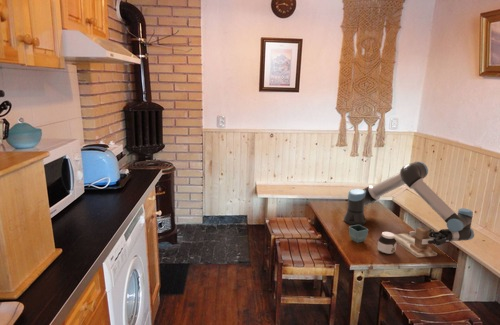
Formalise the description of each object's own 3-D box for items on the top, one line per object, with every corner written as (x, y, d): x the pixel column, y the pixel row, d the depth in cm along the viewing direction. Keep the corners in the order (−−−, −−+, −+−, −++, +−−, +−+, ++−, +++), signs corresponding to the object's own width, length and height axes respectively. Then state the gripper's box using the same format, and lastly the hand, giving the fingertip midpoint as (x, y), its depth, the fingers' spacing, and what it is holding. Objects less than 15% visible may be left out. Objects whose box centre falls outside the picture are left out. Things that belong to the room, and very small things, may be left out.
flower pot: (347, 239, 216) (348, 226, 214) (358, 237, 219) (359, 224, 217) (356, 245, 208) (357, 231, 206) (367, 242, 211) (368, 229, 209)
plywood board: (417, 257, 193) (417, 255, 193) (388, 236, 220) (388, 234, 219) (436, 255, 195) (437, 253, 195) (406, 235, 222) (406, 233, 222)
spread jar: (384, 256, 193) (386, 238, 191) (370, 248, 204) (372, 230, 201) (400, 253, 198) (402, 234, 196) (385, 244, 208) (387, 227, 206)
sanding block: (417, 252, 195) (420, 232, 192) (409, 247, 202) (412, 227, 199) (431, 251, 197) (434, 231, 194) (423, 246, 204) (425, 226, 201)
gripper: (462, 249, 191) (428, 252, 187) (433, 233, 213) (402, 235, 209) (464, 237, 189) (430, 240, 185) (435, 222, 211) (404, 224, 207)
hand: (415, 237), depth 197 cm, fingers open, 10 cm apart
